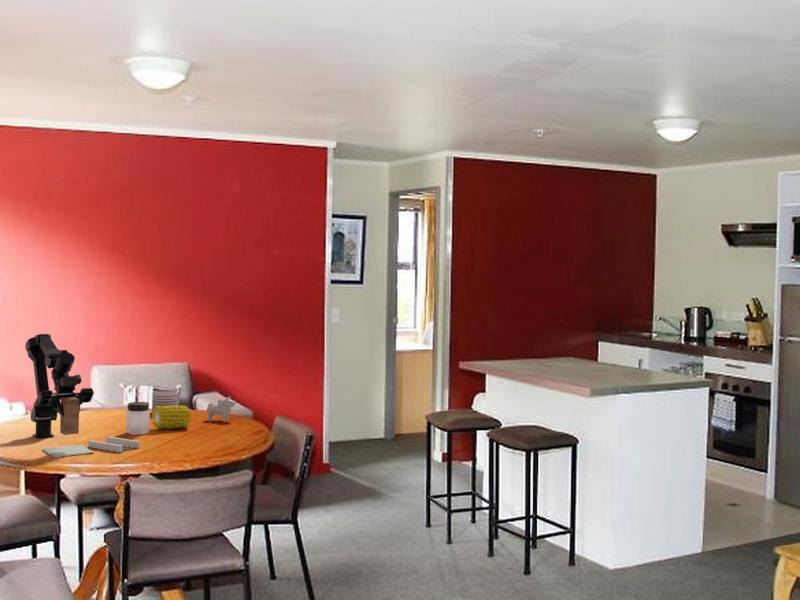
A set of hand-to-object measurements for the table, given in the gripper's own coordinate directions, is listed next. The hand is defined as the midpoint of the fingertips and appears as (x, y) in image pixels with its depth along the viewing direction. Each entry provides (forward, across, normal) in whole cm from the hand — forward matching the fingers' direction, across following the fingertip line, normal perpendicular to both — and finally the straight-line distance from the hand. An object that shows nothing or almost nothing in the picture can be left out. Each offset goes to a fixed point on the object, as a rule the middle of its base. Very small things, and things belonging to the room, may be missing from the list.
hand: (70, 415), depth 321 cm
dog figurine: (-13, +75, +33) cm, 83 cm away
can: (-34, +61, +53) cm, 88 cm away
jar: (-6, +34, +26) cm, 43 cm away
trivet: (+9, 0, +10) cm, 14 cm away
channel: (+9, +16, +10) cm, 21 cm away
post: (+4, 0, +6) cm, 7 cm away
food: (-8, +49, +27) cm, 56 cm away
